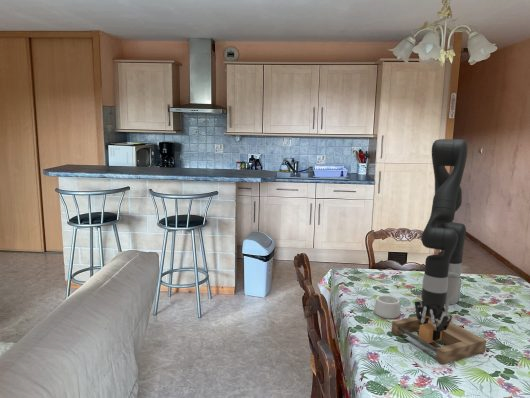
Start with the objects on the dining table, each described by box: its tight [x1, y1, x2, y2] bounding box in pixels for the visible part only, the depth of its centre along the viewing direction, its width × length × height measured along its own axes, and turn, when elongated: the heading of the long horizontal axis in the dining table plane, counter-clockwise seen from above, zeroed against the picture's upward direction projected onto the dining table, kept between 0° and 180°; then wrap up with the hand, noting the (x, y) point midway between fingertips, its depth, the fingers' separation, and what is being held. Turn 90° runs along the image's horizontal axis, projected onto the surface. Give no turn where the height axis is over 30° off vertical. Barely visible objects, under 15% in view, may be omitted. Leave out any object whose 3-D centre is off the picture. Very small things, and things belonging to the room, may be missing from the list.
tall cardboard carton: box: [418, 322, 442, 344], centre depth 137 cm, size 6×4×4 cm, turn 115°
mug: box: [373, 294, 401, 320], centre depth 160 cm, size 12×10×6 cm
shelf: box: [390, 315, 487, 365], centre depth 139 cm, size 19×22×4 cm
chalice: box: [444, 272, 462, 323], centre depth 153 cm, size 7×7×18 cm
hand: (429, 336), depth 137 cm, fingers closed on tall cardboard carton, 4 cm apart
